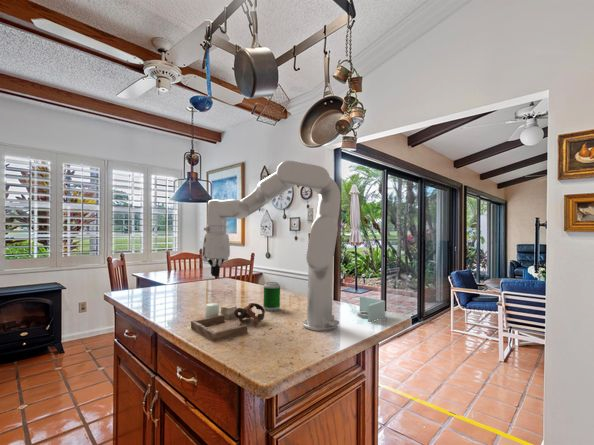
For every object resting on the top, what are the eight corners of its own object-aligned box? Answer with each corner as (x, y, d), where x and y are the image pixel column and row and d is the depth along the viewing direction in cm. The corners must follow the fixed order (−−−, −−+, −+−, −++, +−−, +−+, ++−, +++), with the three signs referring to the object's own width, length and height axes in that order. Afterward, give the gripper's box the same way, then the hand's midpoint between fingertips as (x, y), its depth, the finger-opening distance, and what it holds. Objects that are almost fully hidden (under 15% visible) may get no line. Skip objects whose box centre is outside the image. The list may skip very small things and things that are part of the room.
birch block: (236, 316, 127) (236, 306, 128) (228, 319, 124) (228, 308, 124) (228, 315, 130) (228, 304, 130) (220, 317, 126) (220, 306, 126)
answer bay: (247, 332, 109) (247, 325, 109) (213, 341, 100) (213, 333, 100) (223, 320, 121) (223, 314, 121) (190, 327, 112) (191, 320, 112)
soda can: (279, 311, 136) (279, 284, 136) (262, 311, 136) (262, 284, 136) (280, 307, 143) (280, 281, 143) (264, 307, 143) (264, 281, 143)
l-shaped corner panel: (360, 312, 139) (360, 296, 139) (384, 318, 131) (385, 300, 131) (345, 318, 130) (345, 300, 131) (370, 324, 122) (370, 305, 122)
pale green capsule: (220, 320, 123) (220, 305, 123) (209, 322, 119) (209, 307, 119) (214, 317, 126) (214, 302, 126) (203, 319, 123) (203, 304, 123)
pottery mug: (255, 317, 128) (263, 302, 126) (261, 334, 120) (269, 318, 118) (228, 313, 122) (236, 297, 120) (232, 331, 114) (241, 314, 112)
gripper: (202, 230, 115) (201, 279, 115) (237, 230, 125) (236, 275, 125) (194, 229, 121) (193, 276, 121) (228, 230, 131) (227, 273, 131)
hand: (215, 275), depth 123 cm, fingers closed
